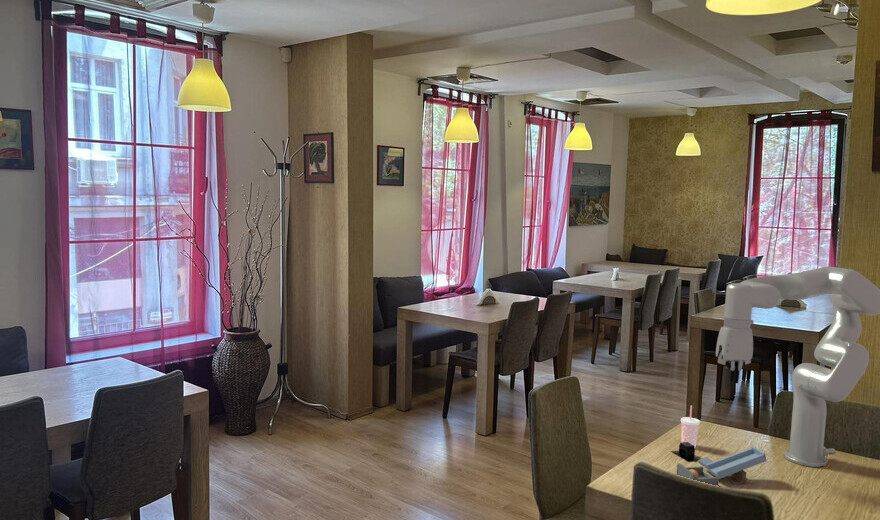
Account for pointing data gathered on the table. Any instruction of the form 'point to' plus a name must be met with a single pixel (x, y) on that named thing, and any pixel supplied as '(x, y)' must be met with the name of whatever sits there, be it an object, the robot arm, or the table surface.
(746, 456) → the lever
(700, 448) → the table surface
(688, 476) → the tray
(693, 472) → the ball
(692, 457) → the black boxy piece
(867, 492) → the table surface
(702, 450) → the table surface
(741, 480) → the fulcrum
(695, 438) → the beverage cup
